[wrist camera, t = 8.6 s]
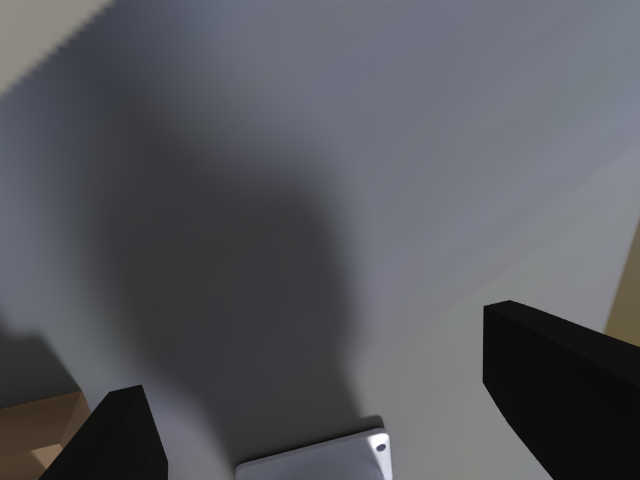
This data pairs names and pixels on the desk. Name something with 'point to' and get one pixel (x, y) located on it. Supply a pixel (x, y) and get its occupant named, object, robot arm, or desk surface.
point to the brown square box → (38, 434)
